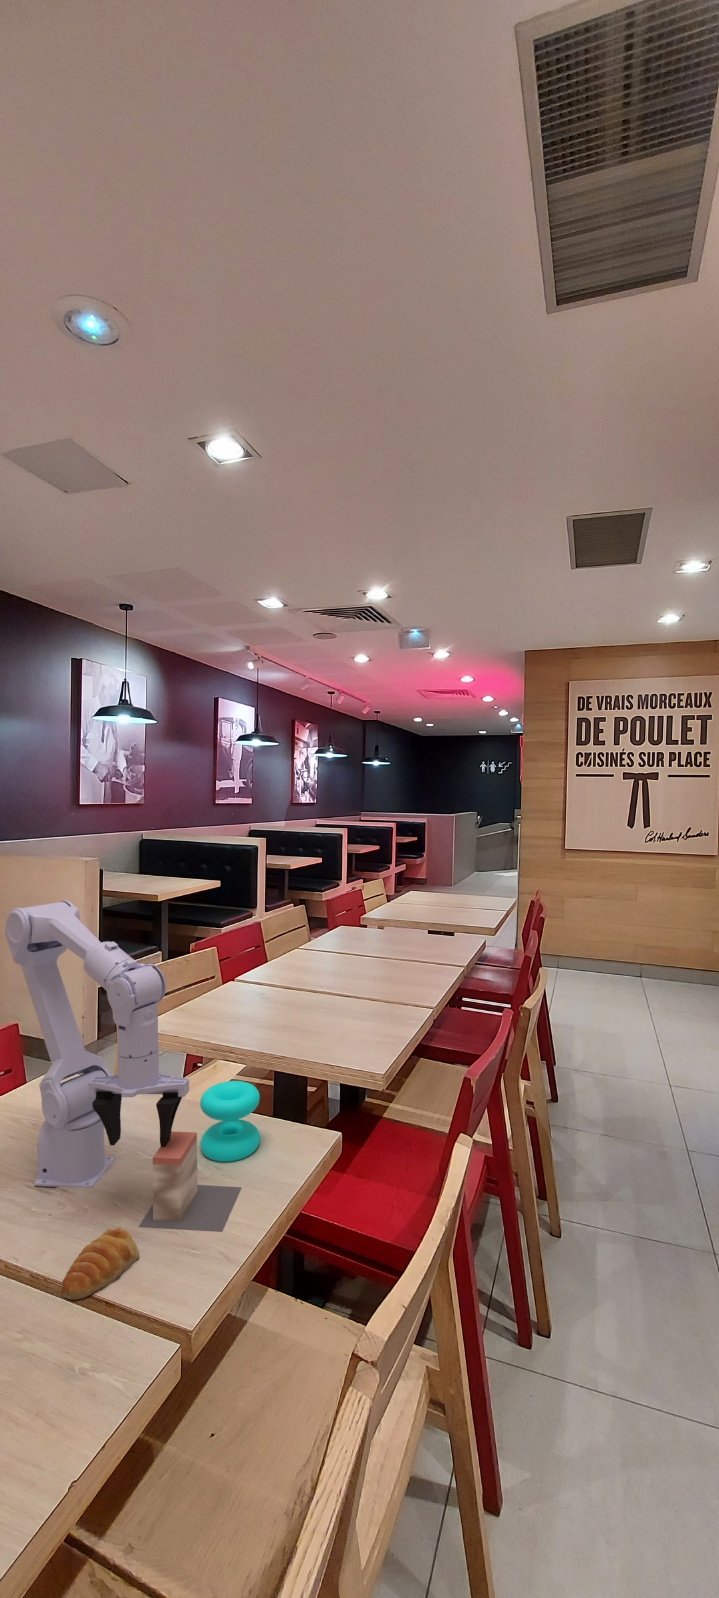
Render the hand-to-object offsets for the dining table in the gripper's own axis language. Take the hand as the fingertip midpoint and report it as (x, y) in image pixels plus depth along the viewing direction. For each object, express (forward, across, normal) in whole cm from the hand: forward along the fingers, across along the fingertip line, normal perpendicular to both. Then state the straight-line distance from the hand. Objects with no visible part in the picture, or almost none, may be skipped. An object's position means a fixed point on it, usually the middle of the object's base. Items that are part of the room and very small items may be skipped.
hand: (140, 1142), depth 96 cm
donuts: (+10, +9, +16) cm, 21 cm away
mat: (+10, +8, 0) cm, 12 cm away
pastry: (+10, 0, -13) cm, 17 cm away
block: (+9, +5, 0) cm, 10 cm away
